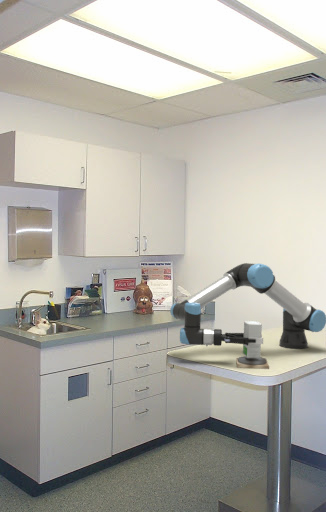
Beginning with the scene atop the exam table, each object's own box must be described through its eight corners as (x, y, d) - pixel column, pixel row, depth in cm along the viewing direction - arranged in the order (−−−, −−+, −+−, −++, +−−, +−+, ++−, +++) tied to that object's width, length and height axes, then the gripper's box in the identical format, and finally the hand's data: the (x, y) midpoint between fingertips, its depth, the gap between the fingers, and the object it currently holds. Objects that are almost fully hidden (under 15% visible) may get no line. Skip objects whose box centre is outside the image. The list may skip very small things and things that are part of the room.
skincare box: (242, 354, 227) (243, 320, 227) (256, 354, 228) (257, 321, 227) (247, 358, 219) (247, 323, 219) (261, 358, 219) (262, 323, 219)
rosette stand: (266, 361, 229) (266, 356, 229) (268, 368, 215) (269, 363, 215) (236, 360, 231) (236, 355, 231) (237, 367, 217) (237, 362, 217)
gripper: (213, 340, 236) (260, 342, 233) (212, 349, 215) (264, 352, 212) (213, 325, 236) (260, 327, 233) (212, 333, 215) (264, 335, 212)
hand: (262, 339), depth 222 cm, fingers closed on skincare box, 9 cm apart
